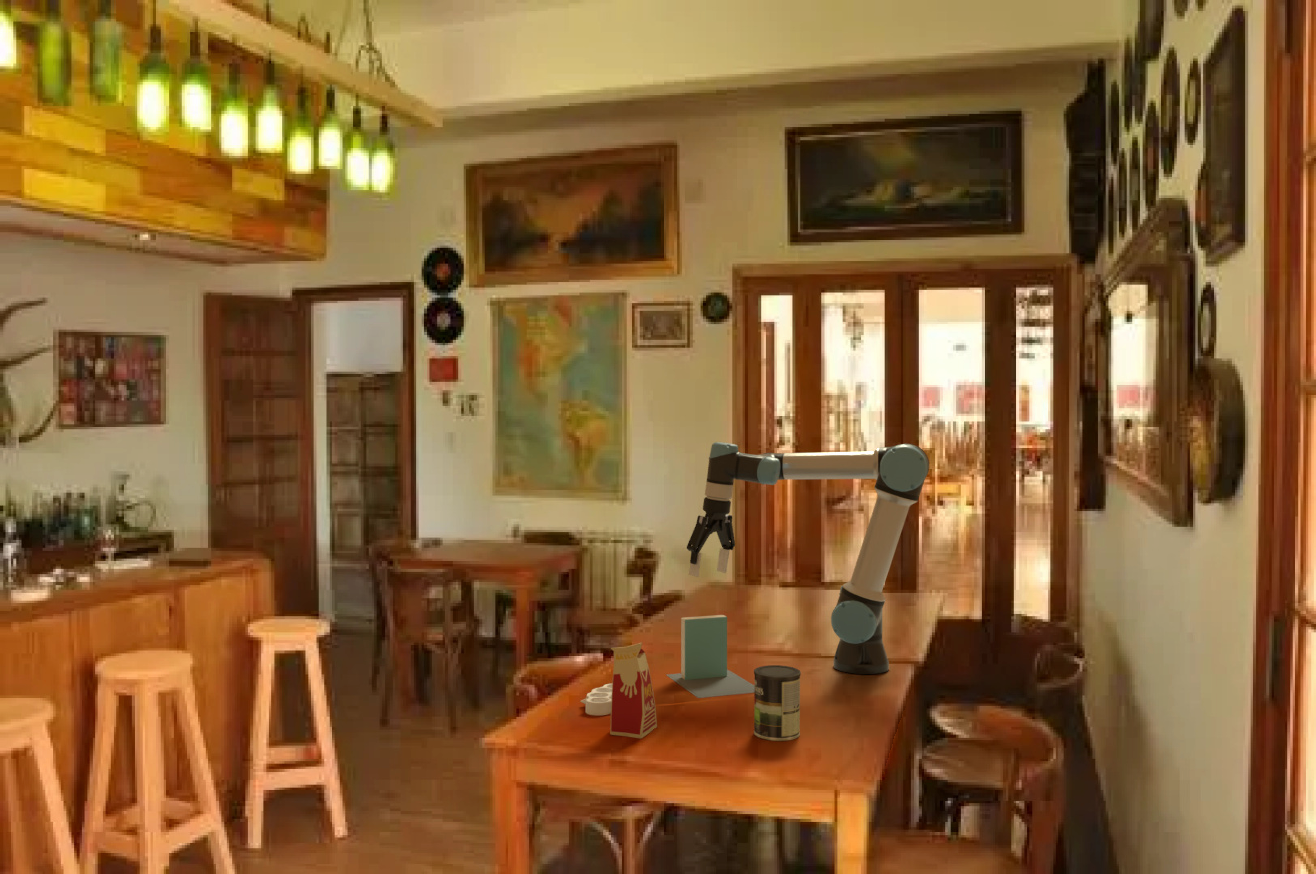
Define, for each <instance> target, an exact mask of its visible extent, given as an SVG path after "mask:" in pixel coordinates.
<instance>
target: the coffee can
mask: <svg viewBox="0 0 1316 874" xmlns="http://www.w3.org/2000/svg"><path fill="white" fill-rule="evenodd" d="M801 673H802V672H801V670H800V669H798V668H796V667H793V666H790V665H789V666H788V665H782V664H781V665H780V664H779V665H777V664H775V665H774V664H773V665H771V664H769V665H762V666H758V667H756V668H754V670H753V674H754V680H753V681H754V683H753V685H754V693H753V694H754V698H753V699H754V703H753V704H754V710H753V711H754V716H753V717H754V719H753V720H754V722H753V723H754V724H753V726H754V729H753V735H754V736H756V737H757V738H759V739H762V740H766V741H773V742H787V741H793V740H795V739H798V738H799V737H800V735H801V733H800V725H801V724H800V723H801V721H800V720H801V716H800V714H801V713H800V712H801V710H800V709H801V676H802V674H801Z"/></svg>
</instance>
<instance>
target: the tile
mask: <svg viewBox="0 0 1316 874" xmlns="http://www.w3.org/2000/svg"><path fill="white" fill-rule="evenodd" d="M680 621H681V622H680V625H681V627H680V628H681V629H680V630H681V631H680V632H681V634H680V635H681V636H680V638H681V641H680V643H681V644H680V647H681V648H680V649H681V650H680V653H681V656H680V660H681V661H680V663H681V666H680V670H681V672H680V673H681V678H683V679H684V680H692V679H703V678H714V677H724V676H727V669H728V616H726V615H724V614H716V615H715V614H714V615H703V616H702V615H701V616H688V617H686V616H685V617H681V618H680Z"/></svg>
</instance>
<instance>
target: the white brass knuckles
mask: <svg viewBox="0 0 1316 874" xmlns="http://www.w3.org/2000/svg"><path fill="white" fill-rule="evenodd" d="M611 700H612V683H607V684H603V686H600V687H594V688H593V689H591V692H587V693H586V697H585V698H584V699H582V700H580V703H583V704H584V705H585V713H586V714H587V715H590V716H606V715H611Z"/></svg>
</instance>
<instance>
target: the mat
mask: <svg viewBox="0 0 1316 874" xmlns="http://www.w3.org/2000/svg"><path fill="white" fill-rule="evenodd" d="M666 677H668V678H670V679H671V680H672V681H674V682H675V683H676V684H678V685H679V686H681V687H682V688H683V689H685V690H686V691H688V692H689V693H690V694H692V695H693V696H694V697H696V698H697V699H704V698H705V699H706V698H713V697H714V698H715V697H723V696H732V695H733V696H734V695H743V694H752V693H753V694H754V685H755V684H754V683H751V682H749V681H748V680H747V679H744V678H743V677H741V676H739V675H738V674H736V673H734V672H733V671H732V670H729V669H728V668H727V676H724V677H714V678H703V679H692V680H684V679H683V678H681V672H678V673H669V674H666Z"/></svg>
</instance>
